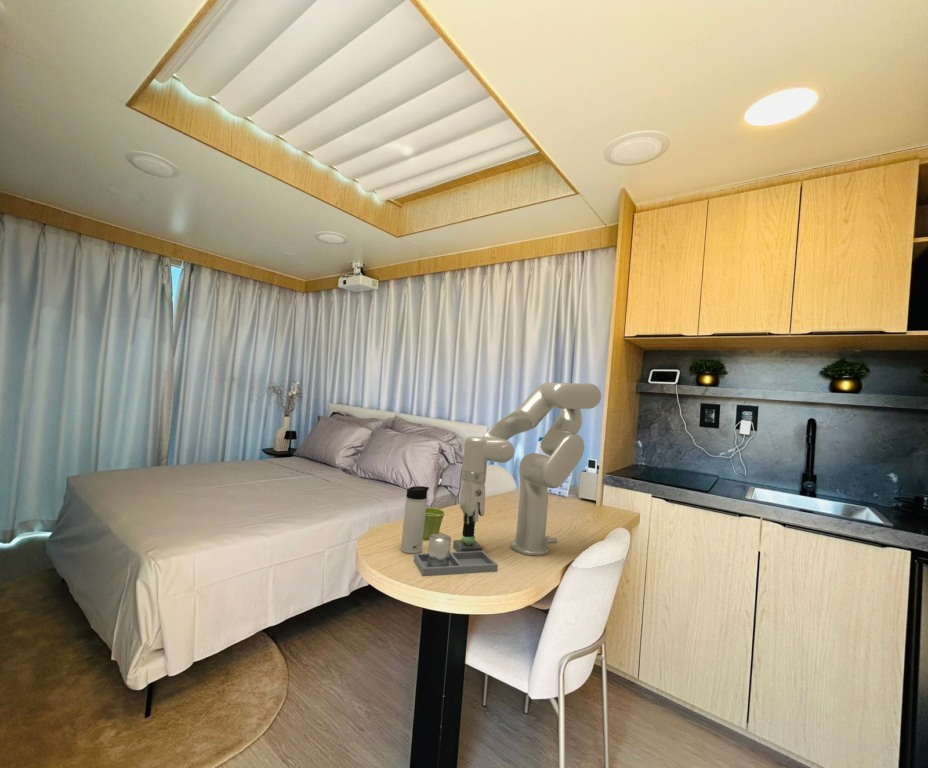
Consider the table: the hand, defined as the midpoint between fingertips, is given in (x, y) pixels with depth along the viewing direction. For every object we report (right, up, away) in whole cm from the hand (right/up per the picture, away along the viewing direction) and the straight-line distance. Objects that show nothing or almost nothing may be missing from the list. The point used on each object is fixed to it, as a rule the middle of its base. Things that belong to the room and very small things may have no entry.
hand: (468, 535), depth 124 cm
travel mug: (-17, -4, -4) cm, 18 cm away
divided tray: (-4, -5, -12) cm, 14 cm away
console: (0, -5, 0) cm, 5 cm away
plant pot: (-13, -5, +12) cm, 18 cm away
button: (0, -5, 0) cm, 5 cm away
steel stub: (-9, -3, -14) cm, 17 cm away
